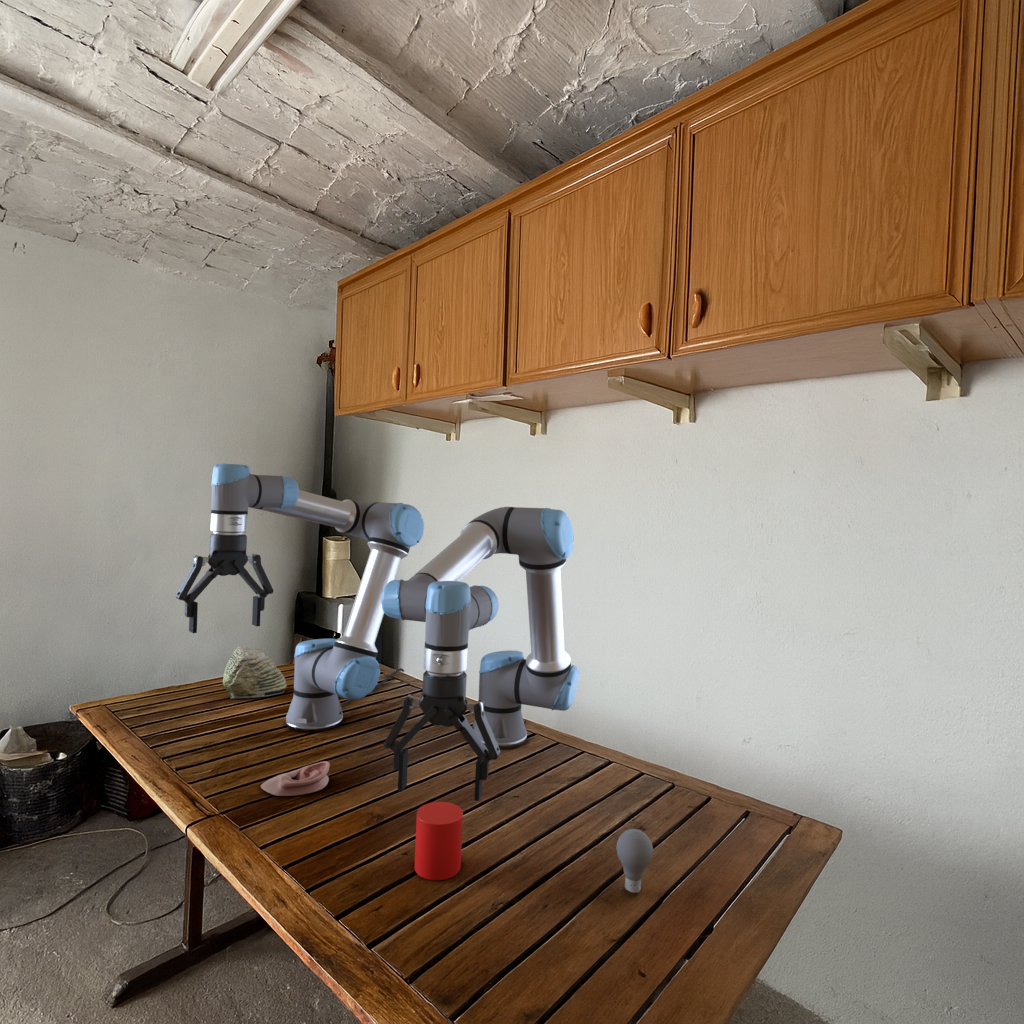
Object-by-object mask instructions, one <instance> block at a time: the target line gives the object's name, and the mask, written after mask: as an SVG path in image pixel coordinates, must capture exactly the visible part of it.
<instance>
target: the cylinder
mask: <svg viewBox="0 0 1024 1024" xmlns="http://www.w3.org/2000/svg"><path fill="white" fill-rule="evenodd" d="M415 821H416V823H415V827H416V828H415V847H414V871H415V874H417V875H418V876H419V877H420V878H423V879H426V880H429V881H444V880H448V879H451V878H453V877H455V876H456V875H458V874H459V872H460V870H461V867H462V845H463V823H464V822H463V821H464V810H463V809H462V808H461V806H459V805H458V804H455V803H452V802H448V801H433V802H429V803H426V804H423V805H422V806H420V807H419V808H418V809H417V811H416V820H415Z"/></svg>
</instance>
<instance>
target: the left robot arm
mask: <svg viewBox="0 0 1024 1024" xmlns="http://www.w3.org/2000/svg"><path fill="white" fill-rule="evenodd" d="M210 485H211V500H210V501H211V502H210V503H211V504H210V505H211V506H210V526H209V531H210V532H211V534H210V535H209V553H208V556H201V555H198V554H196V555H194V556H193V559H192V564H191V567H190V569H189V571H188V572H187V574H186V575H185V578H184V580H183V581H182V582H181V585H180V587H179V589H178V590H177V592H176V593H175V598H176V599H177V600H179V601H183V602H184V616H185V617H186V618H188V619H189V620H188V622H189V623H188V632H190V633H191V634H197V633H198V611H199V610H198V607H199V603H198V602H197V601H195V600H196V599H197V598H198V597H199V596H200V595H201V594H202V593H203V591H204V590H205V589H207V587H208V586H209V585H210V583H212V581H213V580H214V579H216V578H217V577H218V576H221V577H226V576H237V575H239V576H240V577H241V579H243V581H244V582H245V583H246V584H247V585H248V586H249V588H250V589H251V590H252V592H253V593H255V596H252V610H251V611H252V613H251V615H252V616H251V625H252V626H254V627H261V612H264V610H265V606H266V605H265V603H266V598H267V597H268V595H272V594H273V593H274V588H273V586H272V584H271V582H270V580H269V578H268V576H267V573H266V571H265V569H264V567H263V565H262V558H261V555H260V554H257V553H252V554H250V555H249V554H248V555H247V548H248V536H247V534H245V533H247V532H248V518H249V517H248V516H249V509H250V508H251V509H254V510H259V511H264V512H269V513H273V514H277V515H281V516H286V517H288V518H289V517H290V518H294V519H298V520H303V521H305V522H306V521H307V522H310V523H311V522H312V523H315V524H320V525H324V526H329V527H333V528H335V530H336V531H337V532H339V533H342V534H346V535H350V536H353V537H356V538H359V539H361V540H364V541H367V546H368V548H369V550H370V552H369V555H368V558H367V561H366V565H365V568H364V571H363V574H362V577H361V580H360V583H359V586H358V589H357V592H356V595H355V598H354V601H353V605H352V607H351V611H350V614H349V617H348V620H347V622H346V626H345V628H344V632H343V634H342V636H340V637H339V638H317V639H308V640H304V641H300V642H299V643H297V645H296V646H295V650H294V655H293V657H294V672H293V673H294V674H293V695H292V696H293V697H292V699H291V702H290V704H289V708H288V711H287V713H286V715H285V726H286V728H287V729H289V730H291V731H294V732H295V731H296V732H301V733H316V732H325V731H329V730H332V729H335V728H337V727H339V726H340V725H342V723H343V722H344V714H343V709H342V707H344V706H346V705H347V704H349V703H350V702H352V701H357V700H360V699H363V698H366V696H367V695H370V693H372V692H373V691H374V690H377V689H378V688H380V687H382V686H383V685H384V684H385V683H386V682H388V680H390V678H392V677H393V676H394V675H396V674H397V673H399V672H400V671H401V672H403V673H404V672H405V670H404V668H402V667H401V668H398V669H396V670H395V671H396V672H395V671H393V672H392V673H390V674H389V675H388V676H387V677H386V678H384V679H383V680H382V681H381V682H380V683H378V682H379V680H380V676H381V667H380V664H379V661H378V660H377V656H378V652H379V651H378V649H377V647H376V644H375V643H376V640H377V638H378V635H379V631H380V627H381V624H382V621H383V618H384V615H385V613H384V611H383V609H382V603H381V597H382V592H383V590H384V587H385V586H386V584H387V583H388V582H390V581H392V580H396V577H397V574H398V570H399V567H400V563H401V560H402V559H405V558H406V557H408V556H409V552H410V549H411V548H412V547H414V546H417V544H419V543H420V542H421V540H422V539H423V537H424V532H425V521H424V519H423V517H422V514H421V512H420V510H418V508H417V507H415V506H414V505H411V504H407V503H403V502H380V501H357V500H352V499H348V498H347V499H344V500H339V499H335V498H331V497H327V496H323V495H320V494H316V493H313V492H308V491H305V490H301V489H300V488H299V485H298V482H297V480H296V479H295V478H293V477H290V476H285V475H269V474H253V473H251V472H250V467H249V465H248V464H238V463H217V464H215V465H213V468H212V477H211V483H210ZM248 562H249V564H250V565H251V566H252V568H253V571H254V573H255V574H256V576H257V579H258V581H259V583H260V585H261V586H260V585H259V583H257V581H256V580H255V579H254V578H253V577H252V575H251V574H250V573H249V571H248V570H247V569H246V567H245V566H246V565H247V563H248ZM206 564H208V565H209V566H210V567H209V568H208V570H206V572H205V574H204V575H203V576H202V577H201V578H200V579H199V581H198V582H197V583H196V584H195V585H194V583H195V581H196V579H197V577H199V575H200V573H201V570H202V567H204V566H205V565H206ZM193 585H194V586H193ZM192 587H193V588H192ZM339 698H341V699H346V700H345V701H343V702H342V703H341V702H340V699H339Z"/></svg>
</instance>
